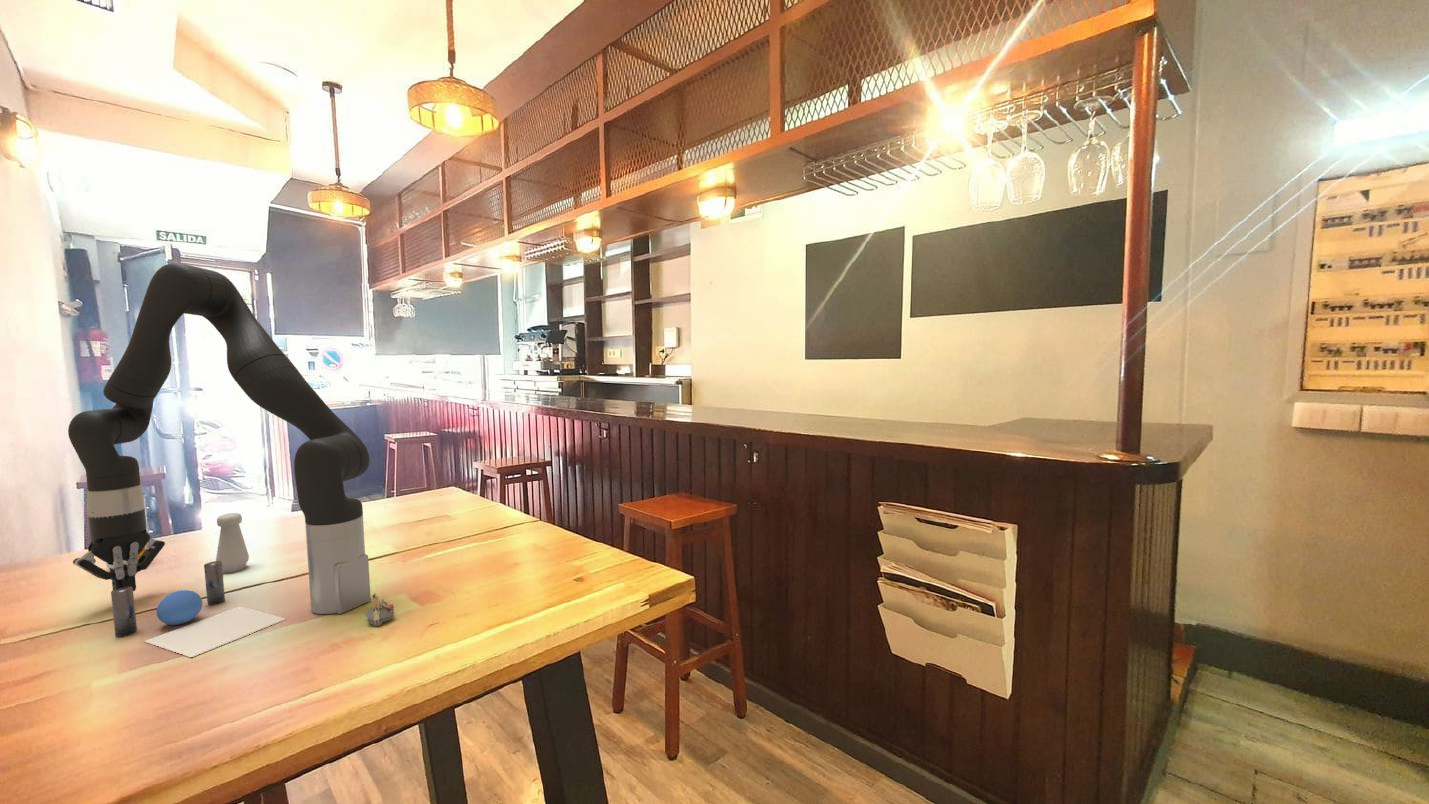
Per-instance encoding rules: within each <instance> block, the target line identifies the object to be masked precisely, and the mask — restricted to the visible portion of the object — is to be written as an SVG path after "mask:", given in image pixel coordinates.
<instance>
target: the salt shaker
mask: <svg viewBox="0 0 1429 804" xmlns="http://www.w3.org/2000/svg"><path fill="white" fill-rule="evenodd" d="M242 517H243V516H242V514H240V513H238V512H230V513H225V514H221V515H219V516H218V517H217V518H216V525H217V526H218V527H220V529H219V530H220V532H219V538H218V544H217V551H216V558H215V561H222V569H223V574H230V573H231V574H232V573H236V572H239V571H243V570H244V569H245V568H246V566H247V564H248V561H249V559H250V554H249V552H248V549H247V546H246V542H245V539H244V537H243V536H244V535H243V533H242V530H241V525H240V524H241V523H242V521H243V518H242Z"/></svg>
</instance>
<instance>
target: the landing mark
mask: <svg viewBox="0 0 1429 804" xmlns="http://www.w3.org/2000/svg"><path fill="white" fill-rule="evenodd" d="M286 620H287V618H284V617H282V616H278V615H273V614H270V613H266V612H263V611H259V610H255V609H253V608H252V609H251V608H249V607H243V606H241V605H240V606H238V607H235V608H231V609H229V610H226V611H223V612H221V613H218V614H215V615H212V616H209V617H207V618H204V619H201V620H198V621H196V622H192V623H190V624H188V625H185V626H182V627H179V628H177V629H174V630H170V631H168V632H165V633H163V634H159V635H157V636H154V637H152V638H148V639H146V640H144V641H143V642H144V643H145V644H148V645H151V646H154V645H155V646H154V647H157V646H159V647H158V648H160V647H161V648H160V649H162V648H165V649H167V650H166V651H168V650H171V651H173V652H172V653H174V652H176V653H175V654H177V653H179V654H178V655H180V654H182V653H183V655H185V656H188V657H193V658H195V657H194V656H196V657H198V656H200V655H199V654H201V655H203V654H204V653H203V652H206V651H208V652H210V651H209V650H211V649H213V650H215V649H214V648H216V647H218V648H220V647H222V646H221V645H223V646H225V645H227V643H228V644H230V643H232V641H233V642H235V641H238V640H240V639H242V638H244V636H245V637H248V636H249V634H250V635H251V634H254V632H255V633H257V632H260V631H262V630H264V628H265V629H267V628H268V627H271V625H272V626H274V625H276V624H278V623H281V622H284V621H286ZM266 627H267V628H266ZM261 629H262V630H261ZM259 630H260V631H259ZM256 631H257V632H256ZM237 639H238V640H237ZM234 640H235V641H234ZM229 642H230V643H229ZM224 644H225V645H224ZM219 646H220V647H219ZM165 649H164V650H165ZM216 649H217V648H216ZM182 650H183V651H182ZM171 651H170V652H171ZM211 651H212V650H211ZM202 653H203V654H202ZM206 653H207V652H206ZM183 655H182V656H183ZM197 655H198V656H197ZM185 656H184V657H185ZM188 657H187V658H188Z"/></svg>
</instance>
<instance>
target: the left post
mask: <svg viewBox="0 0 1429 804" xmlns="http://www.w3.org/2000/svg"><path fill="white" fill-rule="evenodd" d="M110 595H111V605H112V616H113V617H112V618H113V627H114V633H115V634H114V636H115V637H116V638H124V637H128V636H131V635H134V634H135V633H137V631H138V629H137V628H138V626H137V618H136V608H135V599H134V598H135V597H134V596H135V595H134V591H133V587H122V588H118V589H115V590H113V589H112V590H111V591H110Z"/></svg>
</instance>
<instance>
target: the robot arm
mask: <svg viewBox="0 0 1429 804" xmlns="http://www.w3.org/2000/svg"><path fill="white" fill-rule="evenodd" d="M184 314H186V315H192V316H193V315H194V316H201V317H203V318H204V319H206V320H207V321H208V322H209V323H210V324H211V325H212V326H213V327H214V328H215V330H216V331H218V333H219V334H220V335H221V337H222V338H223V340H224V341H225V345H226V363H227V368H228V369H227V370H228V372H229V373H230V376H231V377H232V379H233V380H234V381H235V382H236V384H237V385H238V386H239V387H240V388H241V390H242V391H243V392H244V394H245V395H246V396H247V397H248V398H249V399H250V400H251V401H252V402H253V403H254V404H256V405H257V406H259V407H261V408H262V409H264V410H265V411H267V412H269V413H270V414H272V415H273V416H276V417H278V418H279V419H282V420H284V422H287V423H288V424H290V425H292V426H294V427H295V428H296V429H298V430H300V431H301V433H303V434H304V435H305V436H306V437H307V438H308V440H307V441H305V442H304V443H302V444H301V445H300V446H299V447H298V448H297V450H296V452H295V454H294V462H293V468H294V469H293V471H294V478H295V480H294V481H295V486H296V493H297V501H298V507H299V508H300V510H301V512H302V513H303V515H304V516H303V517H304V523H305V536H306V537H305V538H306V551H307V553H306V554H307V568H308V569H307V571H308V580H309V583H308V584H309V593H310V594H309V596H310V608H311V609H310V610H311V612H312V613H313V614H318V615H331V614H338V615H339V614H344V613H346V612H349V611H350V610H352V609H356V608H358V607H360V606H361V605H364V604H367V603H369V602H371V601H372V600H371V599H372V598H371V597H372V596H371V582H370V565H369V563H370V562H369V555H368V554H366V549H365V548H366V546H365V531H364V528H365V527H364V511H363V503H362V501H361V500H359V499H357V498H353V497H348V496H347V494H346V493H345V492H346V491H345V486H344V482H347V481H350V480H354V479H356V478H358V477H360V476H362V475H364V474H365V473H366V472H367V471H368V468H369V466H370V463H371V462H370V460H371V459H370V453H369V451H368V448H367V446H366V445H365V443H364V442H363V441H362V440H361V438H360V437H359V436H358V435H357V434H356V433H355V432H354V431H353V430H352V429H351V428H350V427H349V426H348V425H347V424H346V423H345V422H343V420H341V418H340V417H339V416H337V415H336V414H335V413H334V411H333V410H332V409H330V407H329V406H328V405H327V404H326V403H325V402H324V400H323V399H322V398H321V397H320V396H319V395H318V393H317V392H316V391H315V389H314V388H313V387H312V386H311V385H310V384H309V382H307V380H306V379H305V378H304V377H303V375H302V374H301V373H300V371H299V369H298V368H297V367H296V366H295V364H294V363H292V361H291V360H290V358H289V357H288V356H287V355H286V354H285V353H284V352H283V351H282V350H281V348H280V347H279V346H278V344H276V342H275V341H274V340H273V338H272V337H271V336H270V335H269V334H268V332H267V331H266V329H264V327H263V326H262V324H261V323H260V322H259V321H258V319H257V318H256V317H255V315H254V313H253V312H252V310H251V309H250V307H249V306H248V305H247V303H246V301H245V299H244V298H243V296H242V295H241V293H240V292H239V290H238V289H237V287H236V285H235V284H234V283H233V282H232V281H231V279H229V278H228V277H227V276H225V275H224V274H222V273H220V272H217V271H215V270H212V269H211V270H210V269H207V268H202V267H198V266H193V265H189V264H185V263H179V262H177V263H176V262H173V263H172V262H171V263H167V264H164V265H162V266H161V267H160V268H158V269H157V271H155V272H154V274H153V276H152V277H151V279H150V281H149V284H148V286H147V288H146V292H145V295H144V297H143V300H142V304H141V306H140V310H139V312H138V315H137V319H136V322H135V325H134V328H133V331H132V334H131V337H130V340H129V343H128V345H127V347H126V348H125V351H124V353H123V354H122V357H121V358H120V360H119V362H118V363H117V365H116V366H115V368H114V370H113V372H112V374H111V375H110V377H109V378H108V380H107V382H106V383H105V386H104V387H103V396H104V397H105V398H106V399H107V400H109V401H110V402H111V403H114V404H115V405H114V406H113V407H112V408H104V409H91V410H86V411H82V412H78V414H76V415H75V416H74V417H73V418H72V419H71V421H70V422H69V425H68V430H67V432H68V438H69V441H70V443H71V445H72V447H73V449H74V451H75V453H76V455H77V456H78V459H79V461H80V462H81V464H82V465H83V468H84V470H85V476H86V486H87V498H86V507H87V508H86V514H87V517H88V525H89V535H90V544H89V545H88V548H87V552H86V553H85V554H83V555H82V556H80V557H77V558H74V559H73V560H72V564H73V565H75V566H76V567H78V568H80V569H82V570H83V571H86V572H87V573H90V574H91V575H93V576H95V577H96V578H98V579H102V580H105V581H106V580H108V581H109V580H111V585H112V591H113V590H115V589H118V588H122V587H133V592H135V591H136V590H137V585H136V584H137V583H136V575H137V573H140V572H141V571H144V570H145V571H146V570H147V569H148V567H149V566H150V565H151V563H153V561H155V559H156V557H157V556H158V554H159V553H160V552H161V550H162V549H163V548H164V546H165V544H166V542H165V541H162V540H159V539H154V538H151V534H150V533H149V532H148V530H147V518H146V510H145V509H146V507H145V497H144V496H145V495H144V492H143V489H142V485H141V473H140V467H139V465H140V464H139V462H138V460H137V458H135V457H133V456H127V455H119V452H118V451H117V449H116V448H115V445H119V444H126V443H132V442H134V441H136V440H138V439H139V438H140V437H142V436H143V435H144V434H145V433H146V431H147V430H148V428H149V426H150V421H151V417H152V411H153V408H154V407H153V406H154V400H155V398H156V397H157V395H158V394H159V392H160V390H161V389H162V388H163V385H164V384H165V382H166V380H167V379H168V377H169V375H170V373H171V368H172V353H171V348H170V337H171V333H172V331H173V328H174V327H175V325H176V324H177V322H178V321H179V319H180V318H181V317H182V316H183V315H184ZM144 547H145V549H146V550H145V551H144V552H143V554H142V555H141V556H140V558H139V559H138V555H139V554H140V552H141V551H142V550H143V548H144ZM95 557H96V558H98V559H99V560H101V561H103V562H104V563H105V564H106V567H107V568H108V571H107V570H105V569H103V568H101V567H100V566H98V565H96V561H97V560H96V559H95Z"/></svg>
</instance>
